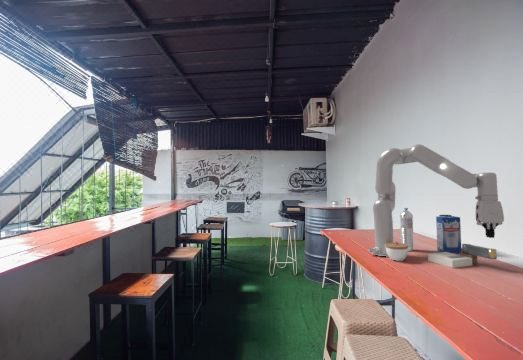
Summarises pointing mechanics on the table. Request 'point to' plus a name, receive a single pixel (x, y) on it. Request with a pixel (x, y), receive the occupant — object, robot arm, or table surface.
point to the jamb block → (474, 257)
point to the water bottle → (407, 229)
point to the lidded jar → (397, 251)
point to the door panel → (450, 259)
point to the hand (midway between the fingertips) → (490, 237)
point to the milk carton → (448, 234)
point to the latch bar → (479, 251)
